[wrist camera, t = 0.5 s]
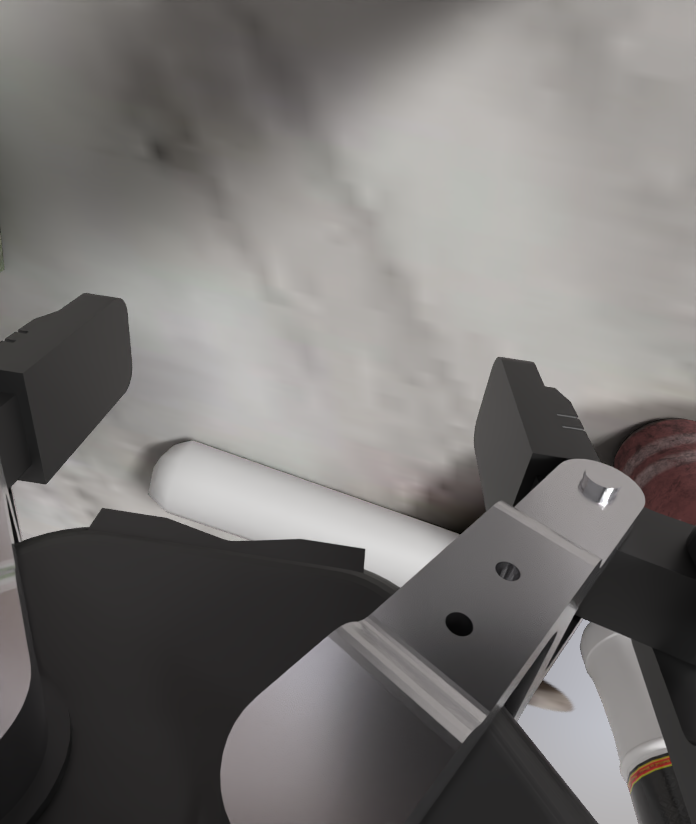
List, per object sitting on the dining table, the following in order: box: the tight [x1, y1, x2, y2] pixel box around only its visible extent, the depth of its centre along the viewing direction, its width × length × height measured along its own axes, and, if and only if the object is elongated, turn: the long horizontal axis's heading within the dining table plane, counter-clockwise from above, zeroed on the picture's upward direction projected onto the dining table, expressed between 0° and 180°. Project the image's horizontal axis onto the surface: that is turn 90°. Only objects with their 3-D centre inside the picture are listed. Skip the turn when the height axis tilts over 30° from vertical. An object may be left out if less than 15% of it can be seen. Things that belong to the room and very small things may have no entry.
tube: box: [148, 440, 461, 588], centre depth 37 cm, size 5×5×25 cm
